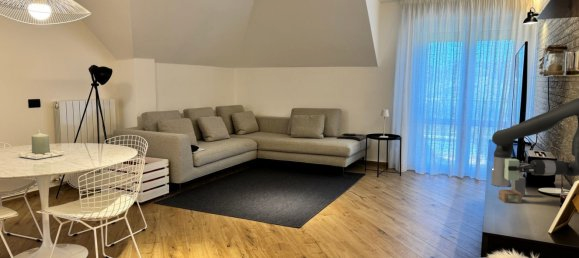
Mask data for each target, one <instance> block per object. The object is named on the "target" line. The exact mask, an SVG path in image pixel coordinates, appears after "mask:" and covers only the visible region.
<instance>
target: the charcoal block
mask: <svg viewBox="0 0 579 258" xmlns="http://www.w3.org/2000/svg"><path fill="white" fill-rule="evenodd" d="M510 190H516V191H518V192H520V193H521V194H522V198H525V197H526V178H525V177H524V176H521V175H519V180H511V183H510Z"/></svg>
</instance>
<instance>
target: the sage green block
mask: <svg viewBox="0 0 579 258" xmlns="http://www.w3.org/2000/svg"><path fill="white" fill-rule="evenodd" d="M519 163H520V160H519V159H517V158H511V159H505V173H504V178H505V179H507V180H511V181H512V180H519V176H520V171H517V170H516V171H509V170H508V166H519Z"/></svg>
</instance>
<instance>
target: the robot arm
mask: <svg viewBox="0 0 579 258" xmlns="http://www.w3.org/2000/svg"><path fill="white" fill-rule="evenodd" d="M574 116H575V117H576V119H577V128H576V131H575V133H574V135H573V136H572V137H573V138H572V140H571V142H572V143H571V155H572V156H573V157H574V161H572V162H569V161H568V162H566V161H564V160H551V159H550V160H549V159H532V160H531V161H530V163H528V162H527V163H526V162H519V166H508V170H509V171H516V170H517V171H519V173H530V174H531V175H532V176H570V177H578V176H579V98H576V99H573V100H571V101H569V102H566V103H565V104H563V105H561V106H559V107H556V108H553V109H551V110H548V111H546V112H543V113H540V114H538V115H535V116H532V117H530V118H529V119H526V120H524V121H522V122H520V123H518V124H516V125H513V126H511V127H508V128H503V129H499V130H496V131H495V132H494V133H493V134H492V137H491V141H492V142H493V144H494V145H496V146H495V147H496V148H495V150H494V152H493V166H492V167H493V168H492V169H491V181H490V182H491V185H493V186H496V187H503V188H507V187H511V181H512V180H507V179H505V178H504V173H505V159H512V155H513V151H514V141H516V140H518V139H522V138H524V137H525V138H526V137H529V136H534V135H538V134H541V133H543V132H546V131H548V130H551V129H552V128H554V127H555V126H556V125H557V124H559V122H561V121H563V120H565V119H568V118H570V117H574Z"/></svg>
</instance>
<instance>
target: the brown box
mask: <svg viewBox="0 0 579 258" xmlns="http://www.w3.org/2000/svg"><path fill="white" fill-rule="evenodd" d="M522 198H523V197H522V194H521V193H520V192H518V191H516V190H511V189H498V199H499V200H500V201H501V202H502V203H504V204H522V201H523V200H522Z"/></svg>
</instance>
